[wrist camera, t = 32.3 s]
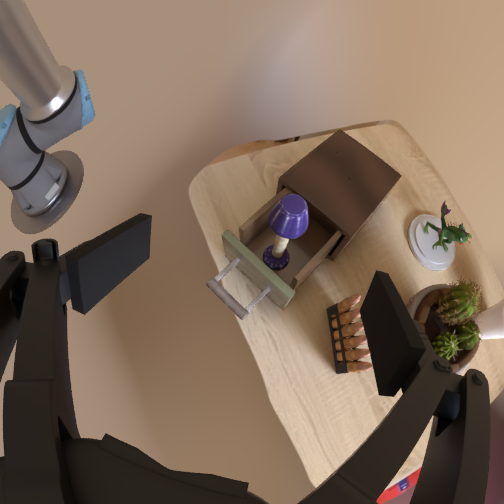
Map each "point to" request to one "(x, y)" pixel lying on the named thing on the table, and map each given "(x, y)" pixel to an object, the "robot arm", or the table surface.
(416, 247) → the monster figurine
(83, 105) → the robot arm
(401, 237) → the table surface
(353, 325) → the ammunition clip
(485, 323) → the dixie cup
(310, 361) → the table surface
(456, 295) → the flowerpot
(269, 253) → the toy lamp
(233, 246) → the drawer
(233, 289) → the table surface
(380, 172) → the cabinet
